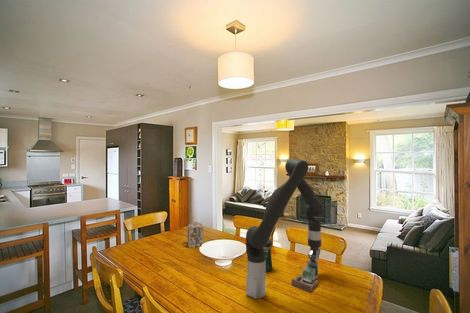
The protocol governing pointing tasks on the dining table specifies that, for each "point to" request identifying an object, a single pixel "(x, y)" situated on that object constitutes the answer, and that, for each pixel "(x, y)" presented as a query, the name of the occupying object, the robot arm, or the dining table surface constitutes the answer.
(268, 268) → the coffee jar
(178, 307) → the dining table surface
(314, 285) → the bay
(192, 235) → the decorative jar
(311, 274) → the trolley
